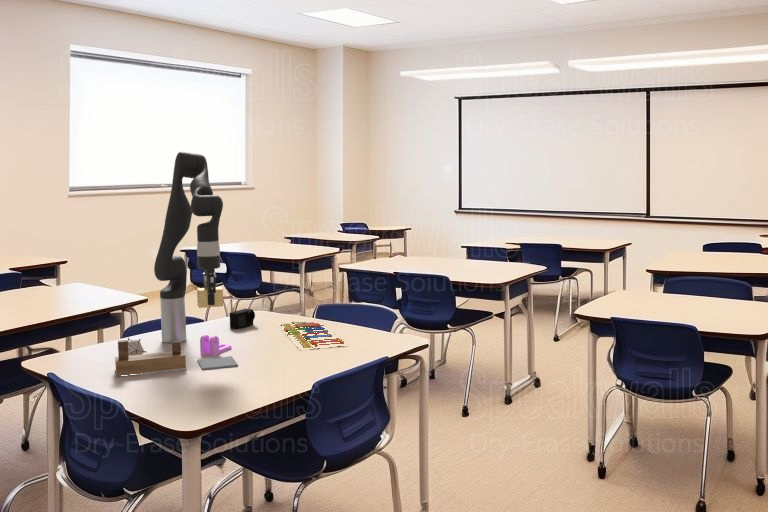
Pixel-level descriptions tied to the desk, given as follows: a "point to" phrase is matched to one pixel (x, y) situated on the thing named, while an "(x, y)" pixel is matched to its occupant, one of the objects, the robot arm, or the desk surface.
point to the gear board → (309, 331)
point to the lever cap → (203, 297)
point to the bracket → (212, 345)
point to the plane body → (149, 360)
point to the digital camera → (241, 318)
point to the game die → (135, 347)
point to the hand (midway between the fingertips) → (210, 303)
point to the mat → (217, 363)
